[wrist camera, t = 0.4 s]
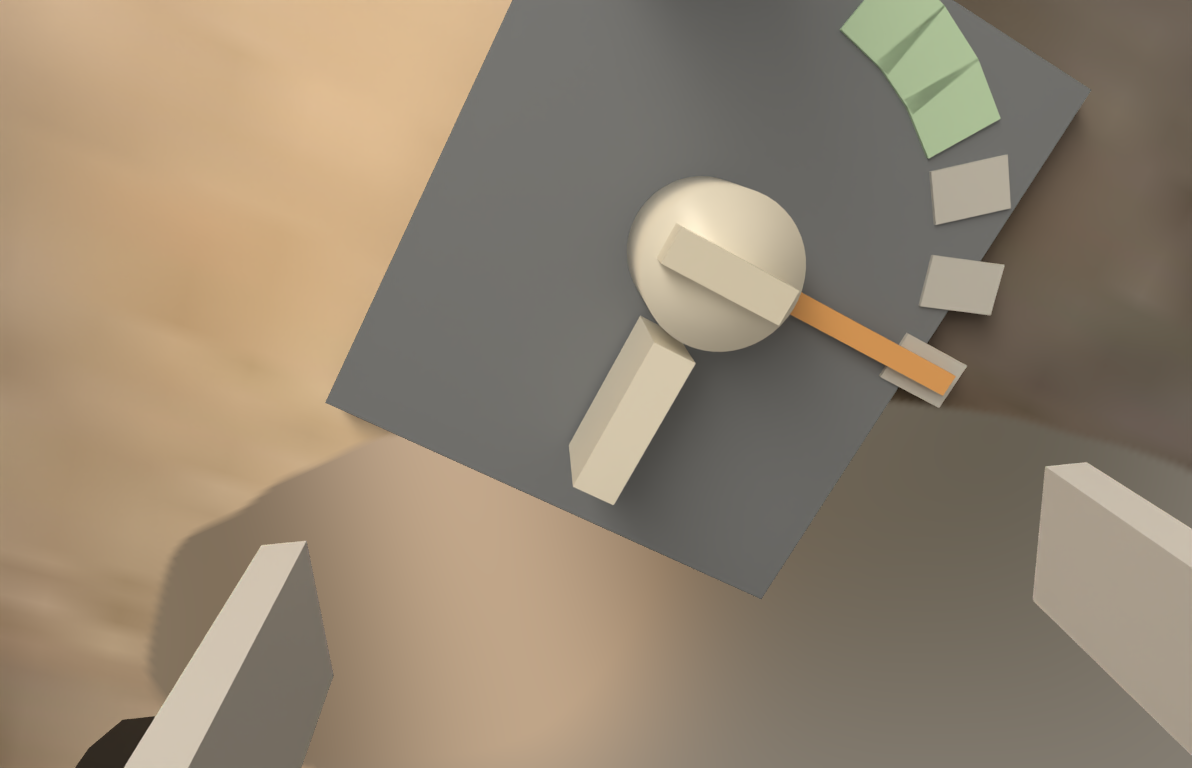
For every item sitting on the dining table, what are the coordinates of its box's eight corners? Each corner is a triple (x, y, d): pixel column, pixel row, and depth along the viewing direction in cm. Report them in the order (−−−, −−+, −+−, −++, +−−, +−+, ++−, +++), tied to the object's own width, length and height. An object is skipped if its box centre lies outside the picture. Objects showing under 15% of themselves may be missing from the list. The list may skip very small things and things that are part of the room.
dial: (525, 422, 37) (523, 480, 31) (671, 149, 34) (699, 156, 28) (820, 560, 40) (869, 637, 34) (978, 321, 37) (1062, 360, 31)
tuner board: (333, 391, 38) (324, 404, 36) (612, -208, 32) (616, -225, 30) (789, 598, 43) (799, 618, 41) (1109, 113, 36) (1135, 112, 35)
